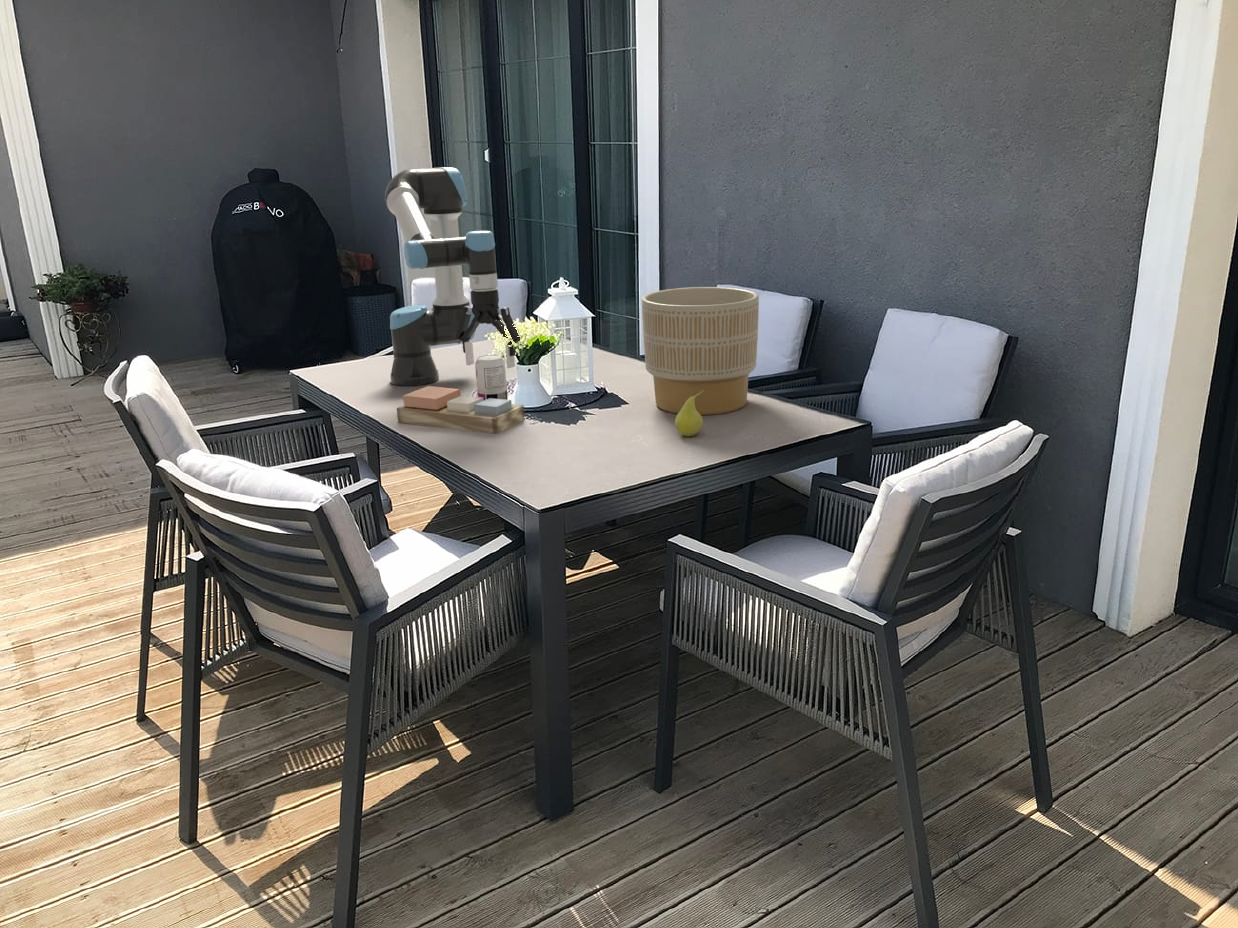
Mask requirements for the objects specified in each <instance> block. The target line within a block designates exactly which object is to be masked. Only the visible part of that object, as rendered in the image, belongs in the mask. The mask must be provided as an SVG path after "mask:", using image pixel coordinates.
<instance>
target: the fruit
mask: <svg viewBox="0 0 1238 928" xmlns="http://www.w3.org/2000/svg"><path fill="white" fill-rule="evenodd" d="M704 391H705V390H704V389H703V390H702V391H701V392H700V393H698V394H696V395H695V396H692V397H690V398H689V399H688V400H687V401H686V402H685V404H684V406H683V407H682V409H681V410H680V412H679V413H678V414H677V415H676V416H675V421H674V424H675V427H676V428H675V429H676V430H677V431H678V433H679V434H680V435H681V436H684V437H693V436H695V435H697V434H698V433H700V432H701V429H702V428H703V425H704V419H703V415H700V414H699V413H698V412H697V411H696V408H695V397H696V396H698V395H699V394H701V393H703V392H704Z"/></svg>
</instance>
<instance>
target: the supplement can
mask: <svg viewBox="0 0 1238 928" xmlns="http://www.w3.org/2000/svg"><path fill="white" fill-rule="evenodd" d="M492 355H493V356H492ZM498 355H499V354H486V355H485V354H484V355H480V356H478V357H476V361H475V362H474V366H475V367H474V368H475V381H476V390H477V391H476V392H477V397H483V400H486V399H489V398H493V399H503V400H509V399H508V388H507V386H508V385H507V374H506V372H507V371H506V361H505V359H504V358H503V356H502V355H500V356H501V357H500V356H498ZM502 358H503V359H502Z"/></svg>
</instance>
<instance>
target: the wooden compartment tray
mask: <svg viewBox="0 0 1238 928" xmlns="http://www.w3.org/2000/svg"><path fill="white" fill-rule="evenodd" d="M396 413H397V414H396V416H397V423H400V424H401V423H402V424H411V425H417V426H418V425H420V426H427V427H434V428H435V427H436V428H444V429H452V430H461V431H469V432H477V433H485V434H486V433H487V434H495V435H497V434H498V433H500V432H503V431H504V430H506V429H508V428H511V427H512V426H515V425H517V424H519V423H520V422H522V421H525V409H524V405H522V404H513V403H512V409H511V410H509V411H507V412H505V413H503V414H501V415H498V416H496V415H487V414H478V413H475V410H474V411H472V412H470V413H469V412H459V411H450V410H448V408H447V407H446V408H444V409H441V410H439V411H428V410H419V409H418V408H416V407H407V406H404V404H403V405H401V406H399V407H396Z"/></svg>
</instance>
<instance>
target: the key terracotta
mask: <svg viewBox="0 0 1238 928" xmlns="http://www.w3.org/2000/svg"><path fill="white" fill-rule="evenodd" d="M459 396H462V395H461V389H460V388H452V387H442V386H441V387H439V386H431V385H427V386H425V387H422V388H418V389H417V390H413V391H411V392H409V393H406V394H404V395H403V397H402V398H403V405H404V406H407V407H416V408H418V409H419V410H428V411H437V412H438V411H439V410H441V409H444V408H446V407H447V401H450V400H452V399H455V398H457V397H459Z"/></svg>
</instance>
